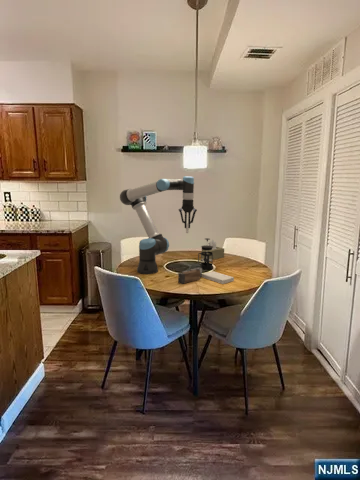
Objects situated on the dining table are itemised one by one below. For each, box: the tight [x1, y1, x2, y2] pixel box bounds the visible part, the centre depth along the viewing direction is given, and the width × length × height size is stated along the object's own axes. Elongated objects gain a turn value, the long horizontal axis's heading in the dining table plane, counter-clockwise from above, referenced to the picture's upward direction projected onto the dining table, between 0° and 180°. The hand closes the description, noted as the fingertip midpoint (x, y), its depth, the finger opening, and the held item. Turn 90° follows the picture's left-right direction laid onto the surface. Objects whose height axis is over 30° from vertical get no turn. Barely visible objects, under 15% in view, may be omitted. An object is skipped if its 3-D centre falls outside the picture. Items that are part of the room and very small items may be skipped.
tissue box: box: [201, 239, 225, 260], centre depth 279 cm, size 19×10×16 cm, turn 129°
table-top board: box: [201, 271, 235, 285], centre depth 218 cm, size 11×19×2 cm, turn 41°
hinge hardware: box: [181, 266, 203, 278], centre depth 218 cm, size 16×6×7 cm, turn 131°
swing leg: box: [177, 270, 201, 285], centre depth 213 cm, size 4×16×6 cm, turn 131°
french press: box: [197, 238, 214, 271], centre depth 243 cm, size 12×9×23 cm
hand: (187, 232), depth 227 cm, fingers closed
